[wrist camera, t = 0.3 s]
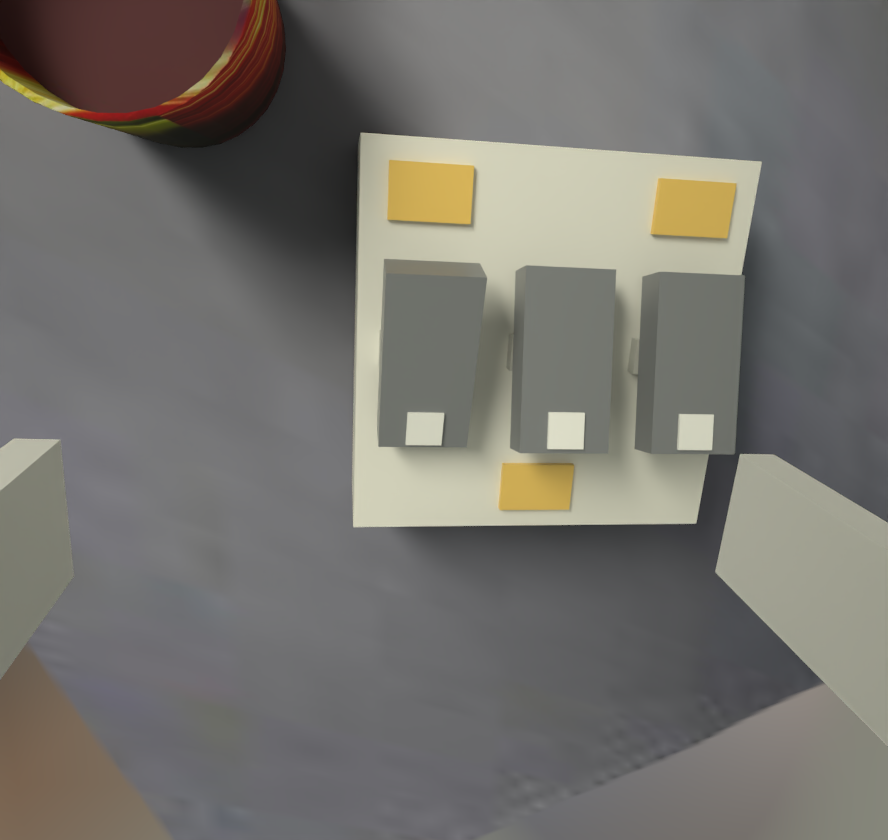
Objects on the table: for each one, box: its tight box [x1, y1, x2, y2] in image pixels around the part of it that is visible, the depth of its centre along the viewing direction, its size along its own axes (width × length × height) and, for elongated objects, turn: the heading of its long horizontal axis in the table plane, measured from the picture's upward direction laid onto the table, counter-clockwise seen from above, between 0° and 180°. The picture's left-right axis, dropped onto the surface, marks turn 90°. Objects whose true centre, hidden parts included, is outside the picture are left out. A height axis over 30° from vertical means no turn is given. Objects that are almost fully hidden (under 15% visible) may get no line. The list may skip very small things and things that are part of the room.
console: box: [352, 133, 762, 527], centre depth 35 cm, size 18×18×7 cm
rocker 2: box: [510, 265, 616, 454], centre depth 31 cm, size 8×4×2 cm, turn 177°
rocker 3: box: [634, 272, 745, 454], centre depth 32 cm, size 8×4×2 cm, turn 177°
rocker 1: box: [377, 259, 487, 448], centre depth 30 cm, size 8×4×2 cm, turn 177°
